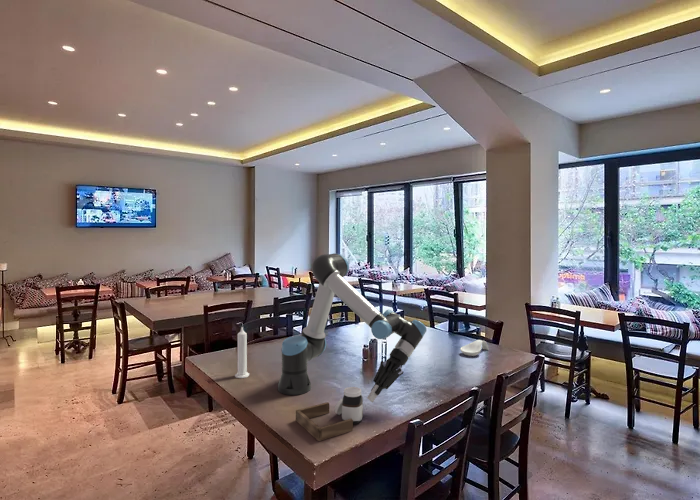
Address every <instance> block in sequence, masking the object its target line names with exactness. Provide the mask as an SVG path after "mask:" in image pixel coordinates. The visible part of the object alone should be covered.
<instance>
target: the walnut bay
mask: <svg viewBox="0 0 700 500" xmlns="http://www.w3.org/2000/svg"><path fill="white" fill-rule="evenodd" d="M326 414H330V402H328V401H326V402H321V403H319V404H314V405H311V406H307V407H304V408H299V409H296V410H295V422H297V423H298V424H299V425H300V426H301V427H302V428H303V429H305V430H306V431H307V432H308V433H309V434H310V435H311V436H312V437H313V438H314V439H316V440H317V441H318V442H321V441H323V440H328V439H330V438H333V437H334V438H335V437H337V436H341V435H343V434H347V433H350V432H353V431H354V424H353V419H348V420H344V421H343V420H342V421H338V422H336V423H332V424H331V423H330V424H327V425H325V426H322V427H320V426H319V424H316V423H315V422H314V421H313V420H312V418H317V417H320V416H323V415H326Z"/></svg>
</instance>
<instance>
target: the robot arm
mask: <svg viewBox="0 0 700 500" xmlns="http://www.w3.org/2000/svg"><path fill="white" fill-rule="evenodd" d="M349 271H350V264H349V261H348V259H347V257H345V256H344V255H342V254H340V253H335V252H334V253H328V254H327V253H326V254H325V253H324V254H320V255H318V256H317V257H315V258H314V259H313V261H312V263H311V272H312V275H313V277H314V278H315V280H316V281H318V283H319V284H318V286H317V291H316V294H315V297H314V300H313V304H312V308H311V312H310V313H309V314H310V315H309V318H308V321H307V325H306V327H304V328H303V329H302V331H301V335H294V336H289V337H286V338H285V339H284V340H283V341H282V343H281V374H280V377H279V381H278V382H277V383H278V384H277V391H278V392H279V393H280V394H283V395H288V396H296V395H303V394H306V393H308V392H309V391H310V390H311V389H312V386H311V380H310V379H311V378H310V376H309V374H308V362H310V361H312V360H314V359H316V358H318V357H320V356H321V355H322V354H323V353H324V352H325V350H326V348H327V340H326V333H325V328H326V325H327V322H328V318H329V314H330V311H331V307H332V304H333V301H334V297H335V296H337V298H339V299H340V300H341V301H342V302H343V303H344V304H345V305H346V306H347V307H348V308H350V310H351V311H352V312H353V313H354V314H356V316H358V318H359V319H361V320H362V321H363V322H364V323H365V324H366V325H367V326H368V327H370V330H371V333H372V336H373V337H374V338H376V339H378V340H383V339H387V338H388V337H390V336H391V335H392V334H396V335H398V336H399V337H400V338H399V340H398V341H397V343H396V344H395V346H394V348H392V350H391V351H390V353H389V357H388V358H387V359H386V360H385V361H384V360H381V361H380V364H379V367H378V369H377V372H376V373H375V376H374V377H373V379H372V380H373V382H374V385H373V387H372V388H371V390H370V392H369V394H368V395H367V397H366V399H368V401H370V402H371V403H374V402H375V400H376V398H377V397H378V396H379V395H380V394H381V392H382V391H383V390H384V389H385V390H388V389H389V388H390V387H391V386H392V385H393V384H394V382H395V381H396V380H398V378H399V377H401V376H402V375H403V374H405V373H404V371H403V369H402V368H403V366H405V365H406V363H407V362H408V360H409V358H410V357H411V356H412V355H413V352H415V350H416V348H417V347H418V345H419V344H420V342H421V341H422V339H423V337H424V336H425V334H426V333H427V326H426V325H425V324H424V323H423V322H421V321H420V320H418V319H413V320H412V321H410V320H407V318H404V317H402V316H401V315H400V314H398V313H396V311H393V310H392V309H386V310H385V311H384V312H383V313H382V312H380V311H379V310H378V309H377V308H376V306H374V305H373V304H372V303H371V302H370V301H368V299H366V298H365V296H363V295H362V294H361V293H360V292H359V291H358V290H357V289H356V288H354V286H353V285H351V284H350V283H349V282H348V281H347V280H346V279H345V278H344V277H346V276H347V274H348V273H349Z"/></svg>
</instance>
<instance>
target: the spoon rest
mask: <svg viewBox="0 0 700 500" xmlns="http://www.w3.org/2000/svg"><path fill="white" fill-rule="evenodd" d="M489 349H490V348H489V345H488V342H487V341H485V340H482V339H477V340H474V341H472V342H471V343H467V344H465V345H463V346H461V347H460V349H459V350H460V351H461V353H462V355H465V356H467V357H475V356H477V355H479V354H480V353H481V352H482V351H481V350H485V351H489Z"/></svg>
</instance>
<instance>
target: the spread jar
mask: <svg viewBox="0 0 700 500" xmlns="http://www.w3.org/2000/svg"><path fill="white" fill-rule="evenodd" d="M342 396H343V397H342V398H340V399H339V400H338V402H337V403H336V405H335V407H334V413H335V414H336V415H338V416H340V415H341V419H342V421H344V420H348V419H353V425H355V424H356V425H357V424H360V423H361V422H362V420H363V413H364V408H363V407H364V406H363V405H364V404H363V403H364V399H363V395H362V389H361V388H360V387H355V386H348V387H346V388H344V389H343V395H342Z"/></svg>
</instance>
